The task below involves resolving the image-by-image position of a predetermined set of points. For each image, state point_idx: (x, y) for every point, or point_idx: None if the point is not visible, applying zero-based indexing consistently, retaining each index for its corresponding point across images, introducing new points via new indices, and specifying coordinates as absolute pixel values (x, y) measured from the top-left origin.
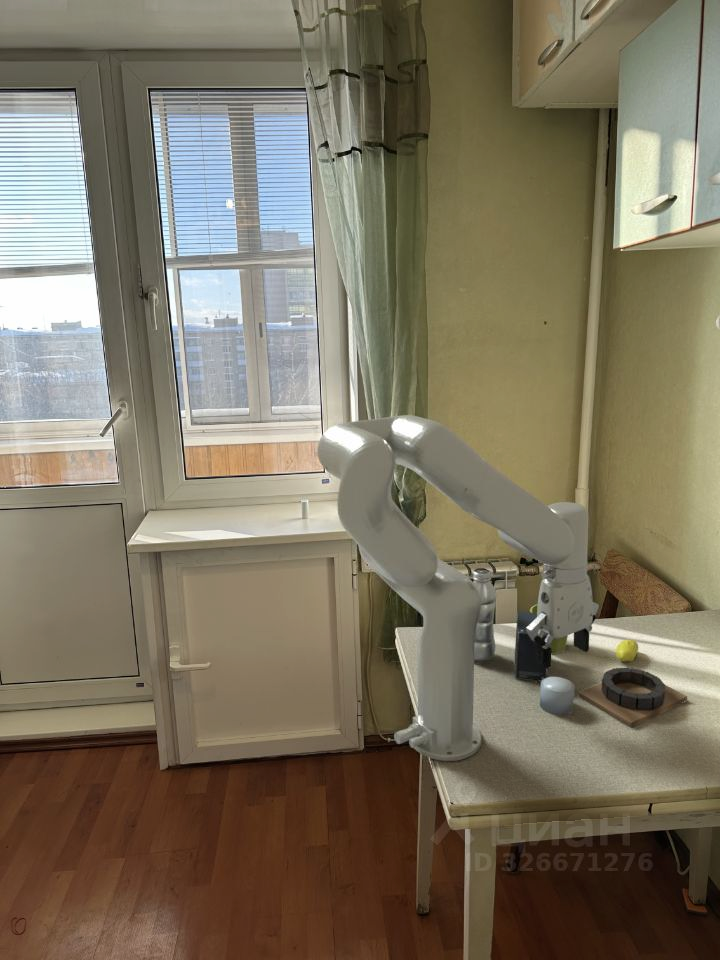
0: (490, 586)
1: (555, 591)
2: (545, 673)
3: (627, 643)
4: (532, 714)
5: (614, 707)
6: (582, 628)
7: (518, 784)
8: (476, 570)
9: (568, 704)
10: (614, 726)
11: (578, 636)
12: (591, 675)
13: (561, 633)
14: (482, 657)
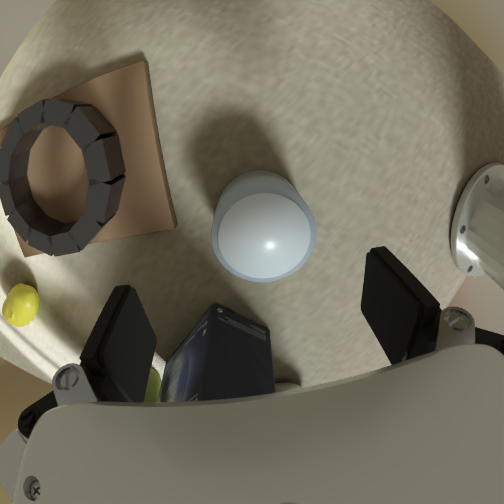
0: None
1: None
2: (213, 316)
3: (12, 314)
4: (335, 208)
5: (132, 133)
6: (150, 413)
7: (475, 67)
8: None
9: (256, 176)
10: (180, 79)
11: (134, 366)
12: (103, 281)
13: (472, 376)
14: (295, 388)
